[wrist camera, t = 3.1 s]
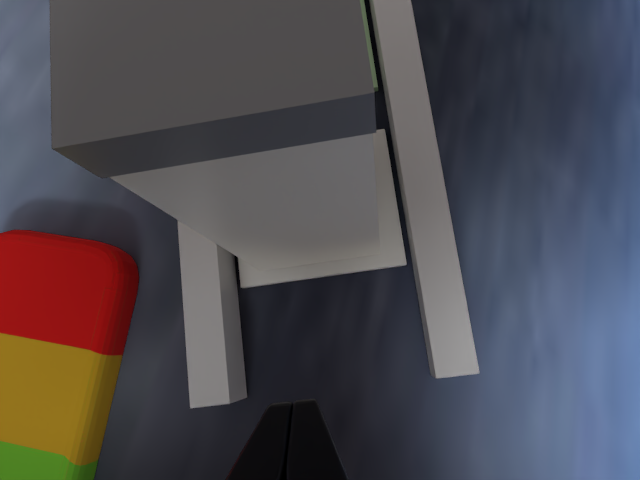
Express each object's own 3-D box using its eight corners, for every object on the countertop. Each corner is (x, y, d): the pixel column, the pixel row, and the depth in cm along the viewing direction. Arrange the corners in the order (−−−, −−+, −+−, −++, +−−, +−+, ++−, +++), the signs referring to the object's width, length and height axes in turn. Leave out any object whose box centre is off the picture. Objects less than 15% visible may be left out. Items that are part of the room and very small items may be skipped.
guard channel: (468, 370, 17) (479, 373, 15) (212, 401, 18) (190, 408, 16) (391, -59, 20) (392, -102, 18) (180, -17, 21) (158, -54, 19)
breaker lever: (382, 255, 17) (374, 92, 6) (259, 272, 18) (51, 148, 7) (364, 138, 18) (331, -182, 7) (247, 157, 18) (48, -118, 8)
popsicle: (153, 253, 19) (127, 243, 17) (47, 716, 17) (4, 763, 15) (18, 232, 20) (-19, 220, 18) (-102, 670, 18) (-160, 707, 16)
